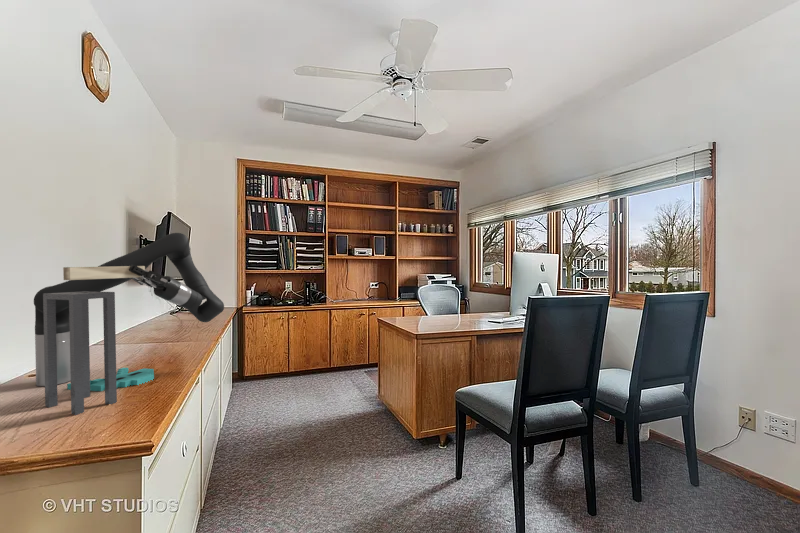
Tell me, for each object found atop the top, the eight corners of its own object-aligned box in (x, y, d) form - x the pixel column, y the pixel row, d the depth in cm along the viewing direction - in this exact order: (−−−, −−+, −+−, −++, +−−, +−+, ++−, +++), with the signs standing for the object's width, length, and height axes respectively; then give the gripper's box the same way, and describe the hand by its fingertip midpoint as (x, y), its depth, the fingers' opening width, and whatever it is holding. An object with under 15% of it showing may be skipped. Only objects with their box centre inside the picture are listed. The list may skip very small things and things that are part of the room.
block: (63, 280, 107) (63, 267, 107) (138, 277, 125) (138, 266, 125) (70, 280, 106) (69, 267, 106) (145, 277, 124) (144, 265, 124)
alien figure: (67, 390, 123) (118, 393, 119) (67, 383, 123) (118, 386, 119) (123, 373, 143) (169, 375, 139) (123, 367, 143) (169, 369, 139)
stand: (45, 406, 108) (43, 293, 108) (86, 395, 117) (84, 291, 117) (75, 415, 101) (72, 294, 101) (116, 402, 110) (114, 291, 110)
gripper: (165, 281, 138) (119, 257, 125) (191, 281, 132) (146, 256, 119) (155, 300, 135) (107, 277, 122) (181, 301, 129) (133, 277, 115)
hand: (127, 267), depth 120 cm, fingers closed on block, 3 cm apart
